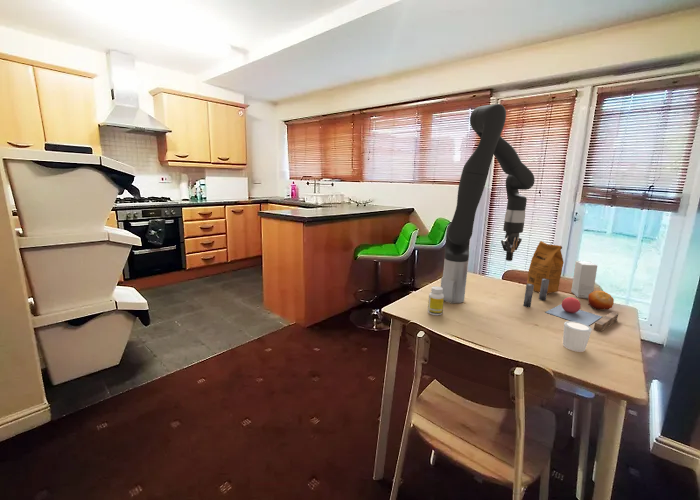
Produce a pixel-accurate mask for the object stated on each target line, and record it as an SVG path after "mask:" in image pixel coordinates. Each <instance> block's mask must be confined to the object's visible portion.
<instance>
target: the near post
mask: <svg viewBox="0 0 700 500" xmlns="http://www.w3.org/2000/svg"><path fill="white" fill-rule="evenodd" d="M533 289H534V285H533V284H527V283H526V285H525V293H524V298H523V304H522V306H523V307H525V308H531V306H532V302H533V301H532V300H533V295H534V294H533V293H534V290H533Z"/></svg>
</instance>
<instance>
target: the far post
mask: <svg viewBox="0 0 700 500" xmlns="http://www.w3.org/2000/svg"><path fill="white" fill-rule="evenodd" d="M548 285H549V279H546V278H542V282H541V288H540V293H539V295H538V300H539V301H542V302H543V301H545V302H546V300H547V295H548V294H547V291H548Z"/></svg>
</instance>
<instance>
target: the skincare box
mask: <svg viewBox="0 0 700 500" xmlns="http://www.w3.org/2000/svg"><path fill="white" fill-rule="evenodd" d="M597 271H598V264H595V263H593V262H591V261H584V260H576V261H575V264H574V271H573V278H572V283H571V284H572V285H571V290H570V291H571V293H572V294H573V295H575V297H577V298H580V299H581V298H583V299H588V296H589V294H590V293H592V292H593V291H595V290H594V289H595V285H596V278H597Z"/></svg>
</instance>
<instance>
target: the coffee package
mask: <svg viewBox="0 0 700 500" xmlns="http://www.w3.org/2000/svg"><path fill="white" fill-rule="evenodd" d="M562 250H563V246H562V245H555V244H548V243H546V242H544V241H542V240H540V241H539V243H538V245H537V246H536V249H535V251H534V253H533V255H532V257H531V259H530V265H529V268H528V272H527V282H526V284H533V285H534V289H533V292H536V293H539V294H540V288H541V282H542V278H546V279H549V285H548V291H547V295H549V294H551V293H557V292H559V287H560V281H561V277H562V272H563V267H564V257H563V254H562Z"/></svg>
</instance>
